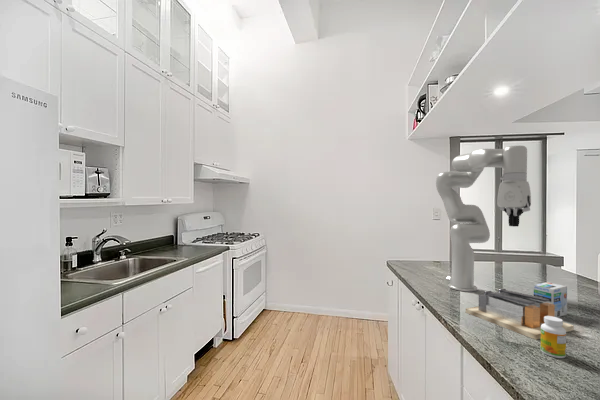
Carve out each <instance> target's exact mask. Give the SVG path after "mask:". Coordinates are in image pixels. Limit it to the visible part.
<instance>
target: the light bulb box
mask: <svg viewBox="0 0 600 400" xmlns="http://www.w3.org/2000/svg"><path fill="white" fill-rule="evenodd" d="M533 296H536V297H541V298H546V299H549V301H547V302H545V303H550V304H554V305H555V317H557V318H560V317H562V316H567V315H568V286H567V285H562V284H558V283H552V282H549V281H546V282H541V283H537V284H533ZM538 301H539V300H538ZM542 302H543V301H542Z"/></svg>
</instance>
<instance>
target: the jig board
mask: <svg viewBox="0 0 600 400" xmlns="http://www.w3.org/2000/svg"><path fill="white" fill-rule="evenodd" d="M465 313H466V314H469V315H471V316H474V317H477V318H479V319H482V320H483V321H486V322H490V323H491V324H494V325H496V326H499V327H502V328H505V329H507V330H510V331H512V332H515V333H517V334H520V335H523V336H526V337H527V338H530V339H532V340H541V325H542V324H543V323H540V327H537V328H530V327H527V326H525V325H523V326H521V325H518V324H515V323H512V322H510V321H507V320H504V319H501V318H499V317H496V316H493V315H490V314H488V313H485V312H482V311H479V305H477V306H473V307H472V306H471V307H466V308H465ZM562 327H563V328H564V329H565V330H566V333H567V332H571V331H574V329H575V326H574V325H573V324H570V323H567V322H564V321H563V326H562Z"/></svg>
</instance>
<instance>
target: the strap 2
mask: <svg viewBox="0 0 600 400" xmlns="http://www.w3.org/2000/svg"><path fill="white" fill-rule="evenodd" d="M497 292H499V293H502V292H503V293H508V294H512V295H517V296H521V297H525V298H530V299H534V300H539V301H543V302H547V301H549V299H546V298H541V297H536V296H534V295H531V294H526V293H523V292H517V291H512V290H508V289H506V288H500V289H498V291H497Z"/></svg>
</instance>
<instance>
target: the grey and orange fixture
mask: <svg viewBox="0 0 600 400" xmlns="http://www.w3.org/2000/svg"><path fill="white" fill-rule="evenodd" d="M494 293H498V294H502V295H507V296H511V297H515V298H520V299H524V300H528V301H533V302H535V304H531V305H530V304H525V303H521V302H517V301H513V300H509V299H505V298H500V297H496V296H492V295H485V294H484V293H482V294H478V306H479V311H482V312H485V313H488V314H490V315H493V316H496V317H499V318H501V319H504V320H507V321H510V322H512V323H515V324H518V325H521V326H523V325H525V326H527V327H530V328H537V327H540V323H543V324H544V323H545V322H544V316H553V317H555V305H554V304H550V303H545V302H542V301H538V300H534V299H530V298H525V297H521V296H517V295H512V294H508V293H503V292H502V293H499V291H495V292H494Z"/></svg>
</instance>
